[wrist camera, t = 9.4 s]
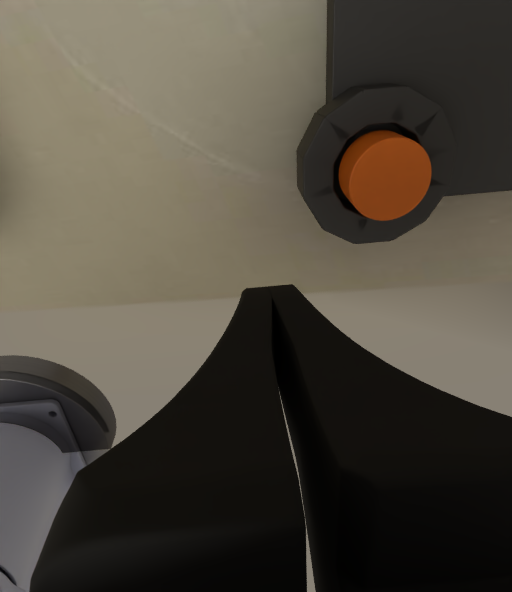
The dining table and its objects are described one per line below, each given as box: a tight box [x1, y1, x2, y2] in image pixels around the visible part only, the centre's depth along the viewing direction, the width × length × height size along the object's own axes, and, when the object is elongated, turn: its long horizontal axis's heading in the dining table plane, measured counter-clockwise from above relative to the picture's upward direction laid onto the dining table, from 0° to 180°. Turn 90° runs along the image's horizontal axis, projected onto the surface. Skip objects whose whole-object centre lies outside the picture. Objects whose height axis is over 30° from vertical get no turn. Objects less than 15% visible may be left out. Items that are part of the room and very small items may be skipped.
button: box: [339, 130, 432, 221], centre depth 15 cm, size 3×3×2 cm
